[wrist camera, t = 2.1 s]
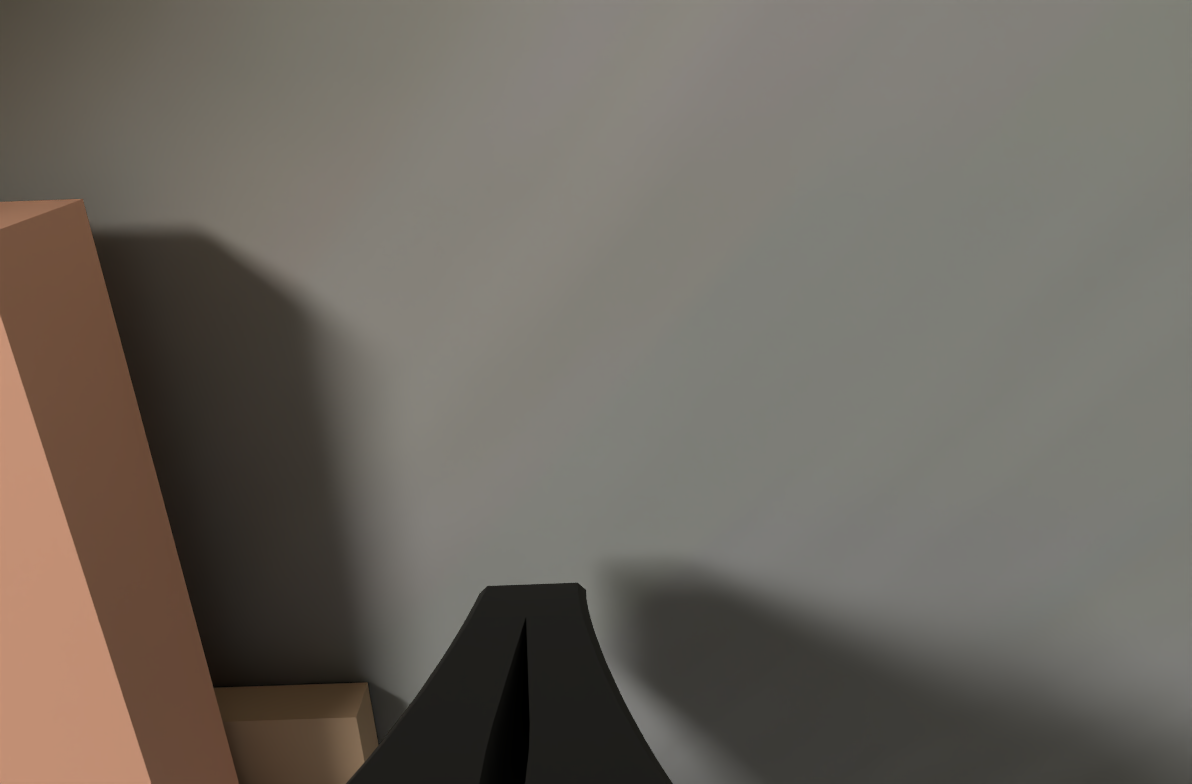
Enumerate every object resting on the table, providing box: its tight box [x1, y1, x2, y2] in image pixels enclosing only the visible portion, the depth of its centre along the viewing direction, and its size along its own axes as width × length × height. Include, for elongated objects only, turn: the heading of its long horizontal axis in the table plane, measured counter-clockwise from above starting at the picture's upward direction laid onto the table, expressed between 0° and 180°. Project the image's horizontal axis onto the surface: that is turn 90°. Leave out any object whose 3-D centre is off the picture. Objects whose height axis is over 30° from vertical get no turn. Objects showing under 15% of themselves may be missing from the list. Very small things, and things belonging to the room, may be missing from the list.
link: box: [0, 199, 239, 784], centre depth 12 cm, size 14×4×3 cm, turn 2°
